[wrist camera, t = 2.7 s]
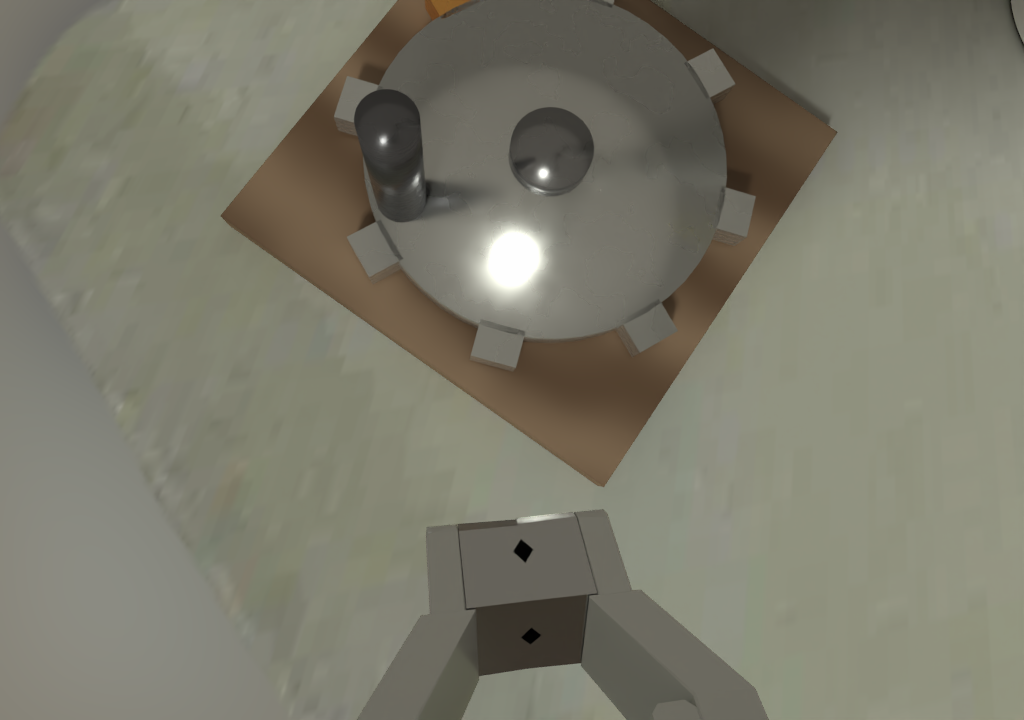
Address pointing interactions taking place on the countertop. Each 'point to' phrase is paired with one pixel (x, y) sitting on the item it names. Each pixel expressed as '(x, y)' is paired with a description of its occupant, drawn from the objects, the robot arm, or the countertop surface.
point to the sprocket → (543, 171)
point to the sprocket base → (541, 366)
